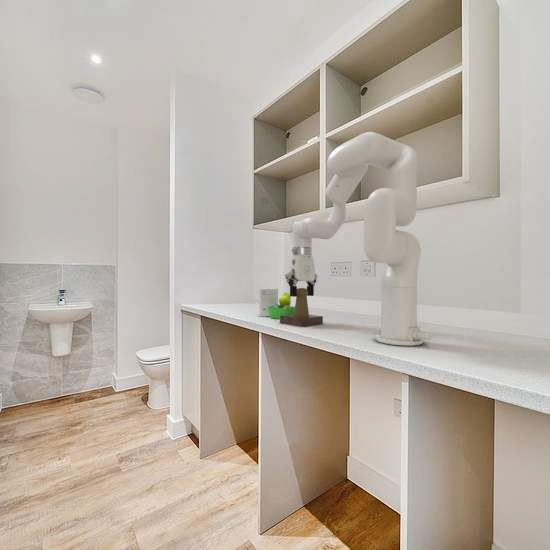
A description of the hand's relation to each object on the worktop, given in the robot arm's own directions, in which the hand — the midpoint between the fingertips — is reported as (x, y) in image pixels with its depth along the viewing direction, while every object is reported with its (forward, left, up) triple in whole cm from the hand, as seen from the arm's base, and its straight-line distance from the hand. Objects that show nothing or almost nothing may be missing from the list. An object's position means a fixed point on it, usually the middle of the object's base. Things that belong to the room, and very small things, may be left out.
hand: (302, 296), depth 123 cm
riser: (0, 0, -11) cm, 11 cm away
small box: (+27, -6, -11) cm, 30 cm away
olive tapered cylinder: (0, 0, -8) cm, 8 cm away
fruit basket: (+16, -5, -11) cm, 20 cm away
